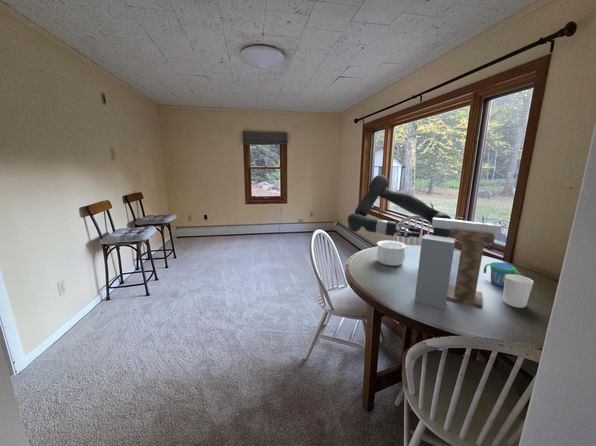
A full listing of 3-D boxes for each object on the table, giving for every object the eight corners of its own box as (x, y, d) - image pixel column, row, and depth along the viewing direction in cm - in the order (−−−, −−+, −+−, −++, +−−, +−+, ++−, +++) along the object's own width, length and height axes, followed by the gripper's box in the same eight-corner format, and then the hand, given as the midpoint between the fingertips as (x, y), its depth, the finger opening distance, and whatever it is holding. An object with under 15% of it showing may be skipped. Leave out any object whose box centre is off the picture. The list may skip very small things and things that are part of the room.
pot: (384, 255, 180) (385, 238, 178) (410, 261, 169) (412, 243, 167) (369, 264, 164) (370, 245, 162) (396, 271, 153) (398, 251, 150)
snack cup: (522, 288, 134) (526, 269, 132) (511, 292, 130) (515, 273, 127) (489, 276, 148) (492, 259, 146) (477, 280, 143) (481, 262, 141)
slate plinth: (414, 301, 120) (422, 238, 113) (417, 294, 126) (425, 234, 120) (444, 310, 113) (454, 243, 107) (446, 302, 120) (455, 238, 113)
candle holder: (494, 298, 124) (499, 274, 121) (514, 297, 125) (519, 273, 122) (513, 309, 114) (518, 283, 112) (534, 308, 115) (539, 283, 113)
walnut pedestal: (440, 297, 123) (450, 231, 116) (443, 286, 135) (452, 225, 128) (481, 308, 115) (494, 237, 108) (481, 295, 126) (493, 230, 119)
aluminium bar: (431, 227, 125) (432, 218, 124) (432, 225, 128) (433, 217, 127) (500, 235, 111) (501, 226, 110) (499, 233, 114) (501, 224, 113)
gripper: (385, 224, 131) (421, 229, 125) (388, 217, 143) (420, 222, 137) (383, 238, 133) (418, 244, 127) (386, 230, 145) (418, 236, 139)
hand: (419, 233), depth 132 cm, fingers open, 8 cm apart
